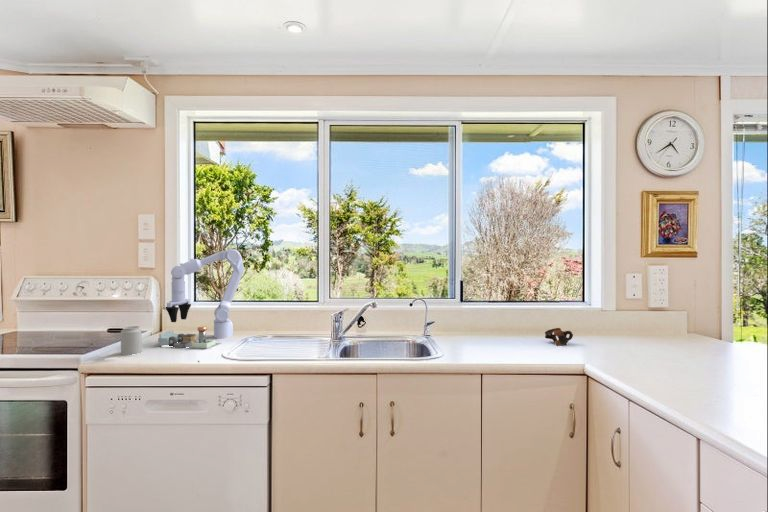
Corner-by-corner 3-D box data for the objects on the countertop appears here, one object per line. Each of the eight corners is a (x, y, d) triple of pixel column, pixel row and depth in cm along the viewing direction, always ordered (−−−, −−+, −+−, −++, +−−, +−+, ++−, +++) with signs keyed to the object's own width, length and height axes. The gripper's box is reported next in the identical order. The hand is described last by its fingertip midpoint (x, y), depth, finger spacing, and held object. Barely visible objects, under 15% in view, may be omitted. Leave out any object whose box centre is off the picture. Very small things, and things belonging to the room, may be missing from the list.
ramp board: (173, 344, 206) (173, 338, 206) (221, 345, 202) (221, 339, 202) (155, 350, 194) (155, 343, 194) (206, 352, 190) (206, 345, 190)
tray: (201, 344, 199) (201, 339, 199) (215, 345, 198) (215, 340, 198) (192, 348, 192) (192, 343, 192) (206, 348, 191) (206, 343, 191)
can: (125, 359, 178) (125, 329, 178) (117, 356, 183) (117, 327, 183) (145, 355, 184) (144, 326, 184) (136, 353, 189) (136, 324, 189)
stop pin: (200, 344, 197) (200, 326, 197) (208, 344, 196) (208, 326, 196) (195, 346, 193) (195, 328, 193) (204, 346, 192) (203, 328, 192)
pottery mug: (550, 347, 199) (544, 329, 203) (548, 352, 208) (542, 335, 212) (577, 340, 198) (570, 323, 202) (574, 346, 206) (567, 329, 210)
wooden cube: (188, 342, 204) (187, 333, 204) (196, 342, 203) (195, 334, 203) (182, 344, 200) (182, 335, 200) (190, 344, 199) (190, 335, 199)
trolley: (173, 341, 205) (173, 330, 205) (188, 342, 204) (187, 330, 204) (158, 346, 195) (158, 334, 195) (173, 347, 194) (173, 335, 194)
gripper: (180, 290, 216) (180, 318, 216) (160, 293, 202) (160, 323, 202) (193, 290, 215) (193, 318, 215) (174, 293, 201) (175, 323, 201)
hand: (178, 320), depth 208 cm, fingers open, 7 cm apart
